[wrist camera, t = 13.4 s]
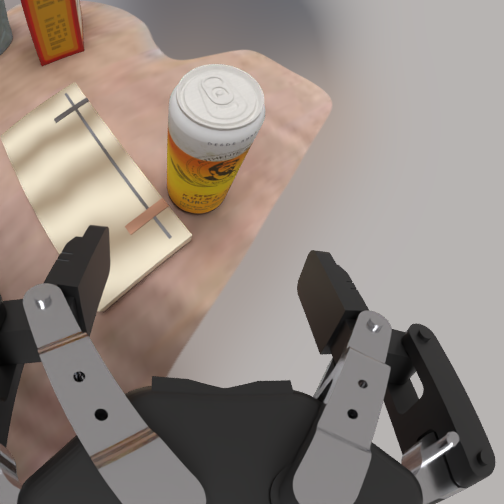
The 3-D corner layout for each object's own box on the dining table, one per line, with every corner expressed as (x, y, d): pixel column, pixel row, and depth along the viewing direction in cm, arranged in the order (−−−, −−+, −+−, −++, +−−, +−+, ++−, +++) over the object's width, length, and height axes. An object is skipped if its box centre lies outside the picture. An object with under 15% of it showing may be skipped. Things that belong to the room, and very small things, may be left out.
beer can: (182, 225, 29) (195, 148, 15) (158, 174, 30) (155, 73, 15) (236, 201, 31) (288, 118, 17) (210, 153, 31) (242, 53, 17)
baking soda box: (44, 32, 29) (28, -43, 14) (82, 19, 31) (74, -60, 16) (41, 66, 28) (15, -20, 13) (84, 50, 30) (70, -40, 15)
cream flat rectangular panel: (6, 144, 25) (-1, 135, 23) (78, 91, 29) (74, 81, 27) (103, 311, 26) (98, 311, 24) (190, 240, 29) (192, 234, 27)
